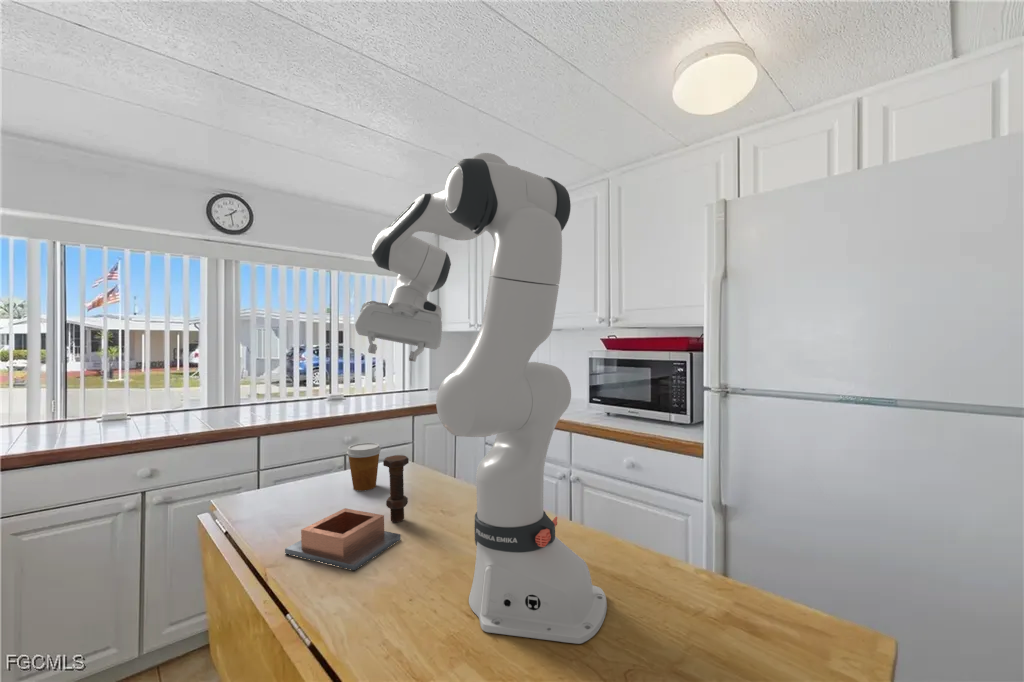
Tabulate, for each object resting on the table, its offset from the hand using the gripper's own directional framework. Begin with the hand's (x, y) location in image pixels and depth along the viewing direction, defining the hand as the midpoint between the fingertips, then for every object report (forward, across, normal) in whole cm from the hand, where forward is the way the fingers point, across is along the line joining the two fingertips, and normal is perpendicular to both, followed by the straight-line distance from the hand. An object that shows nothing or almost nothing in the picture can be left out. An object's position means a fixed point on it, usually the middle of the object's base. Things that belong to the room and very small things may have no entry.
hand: (391, 356), depth 105 cm
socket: (+40, 0, +12) cm, 41 cm away
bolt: (+32, +8, +22) cm, 40 cm away
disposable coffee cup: (+21, -5, +45) cm, 50 cm away
